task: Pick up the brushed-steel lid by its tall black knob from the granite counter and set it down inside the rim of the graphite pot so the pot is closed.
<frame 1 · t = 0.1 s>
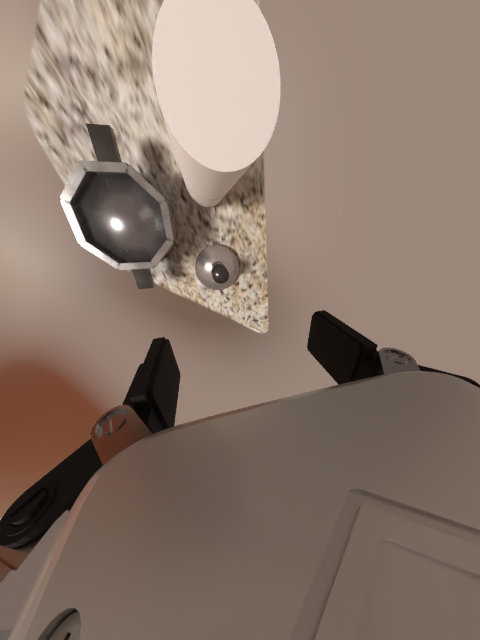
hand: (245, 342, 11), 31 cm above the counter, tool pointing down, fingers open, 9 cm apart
lid: (217, 267, 39), on the counter
pot: (138, 223, 32), on the counter
cylindrical container: (205, 184, 31), on the counter
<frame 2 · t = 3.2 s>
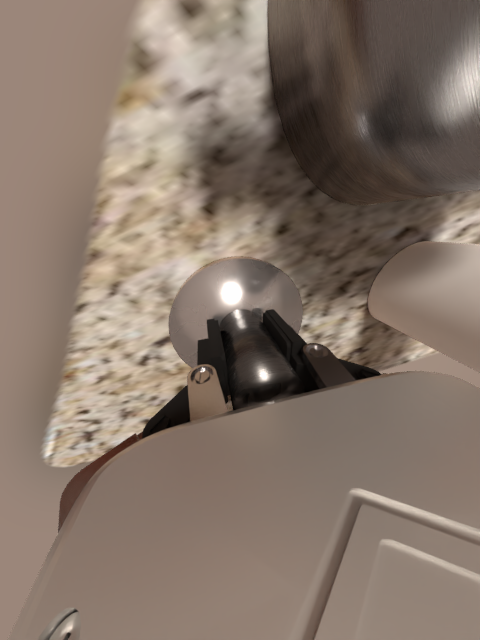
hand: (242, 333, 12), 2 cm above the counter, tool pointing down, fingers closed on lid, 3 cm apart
lid: (237, 322, 13), on the counter, touching gripper
pot: (410, 25, 8), on the counter
cylindrical container: (402, 284, 15), on the counter
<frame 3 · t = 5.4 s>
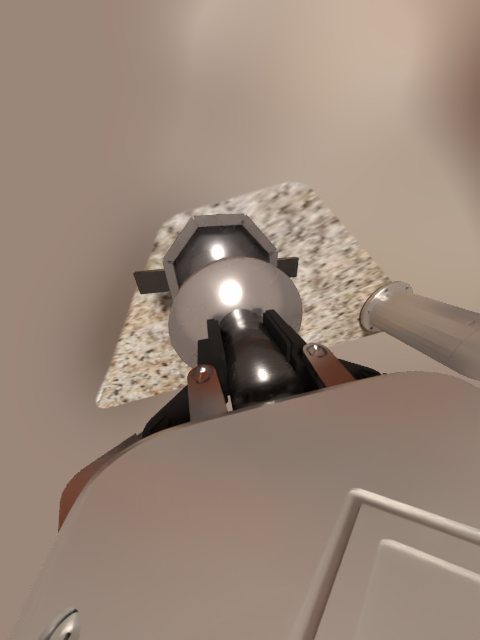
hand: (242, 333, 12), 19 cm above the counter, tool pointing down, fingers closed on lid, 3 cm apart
lid: (237, 322, 13), point 17 cm above the counter, touching gripper
pot: (218, 265, 28), on the counter
when the fingers open (10 cm above the counter, at t = 7.5 s): lid drops 1 cm, resting on pot.
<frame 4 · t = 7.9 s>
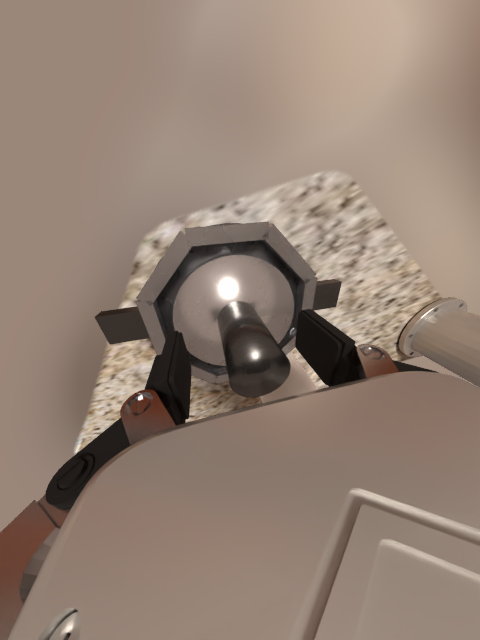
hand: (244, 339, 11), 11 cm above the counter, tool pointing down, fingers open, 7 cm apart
lid: (235, 314, 15), point 7 cm above the counter, touching pot
pot: (224, 289, 20), on the counter
cylindrical container: (269, 359, 28), on the counter
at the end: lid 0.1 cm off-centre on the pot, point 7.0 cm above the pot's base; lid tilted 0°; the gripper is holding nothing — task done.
